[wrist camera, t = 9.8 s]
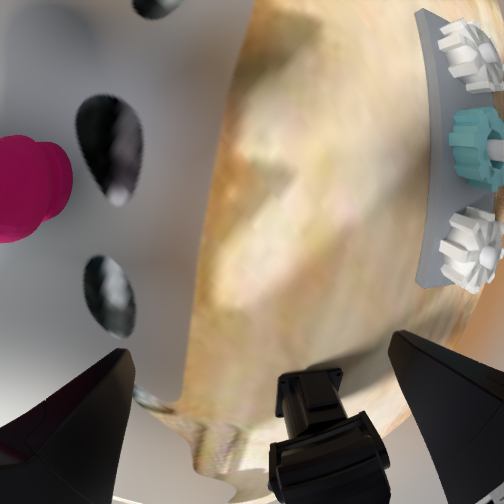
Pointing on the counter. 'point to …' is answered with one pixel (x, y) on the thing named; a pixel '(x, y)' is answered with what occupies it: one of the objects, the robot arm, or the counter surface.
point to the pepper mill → (31, 185)
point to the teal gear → (477, 147)
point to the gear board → (442, 160)
